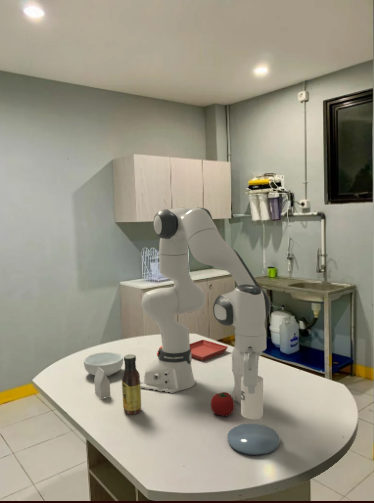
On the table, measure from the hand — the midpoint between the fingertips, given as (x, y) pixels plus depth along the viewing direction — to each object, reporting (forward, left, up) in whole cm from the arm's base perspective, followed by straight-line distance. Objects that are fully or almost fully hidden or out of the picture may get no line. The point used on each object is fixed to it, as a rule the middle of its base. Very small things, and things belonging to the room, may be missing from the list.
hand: (251, 388), depth 117 cm
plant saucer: (-28, +74, -17) cm, 81 cm away
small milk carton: (-58, +24, -16) cm, 65 cm away
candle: (0, 0, -8) cm, 8 cm away
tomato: (-11, +16, -16) cm, 25 cm away
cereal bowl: (-66, +44, -16) cm, 81 cm away
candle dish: (0, 0, -16) cm, 16 cm away
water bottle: (-5, +26, -16) cm, 31 cm away
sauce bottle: (-42, +13, -16) cm, 47 cm away
